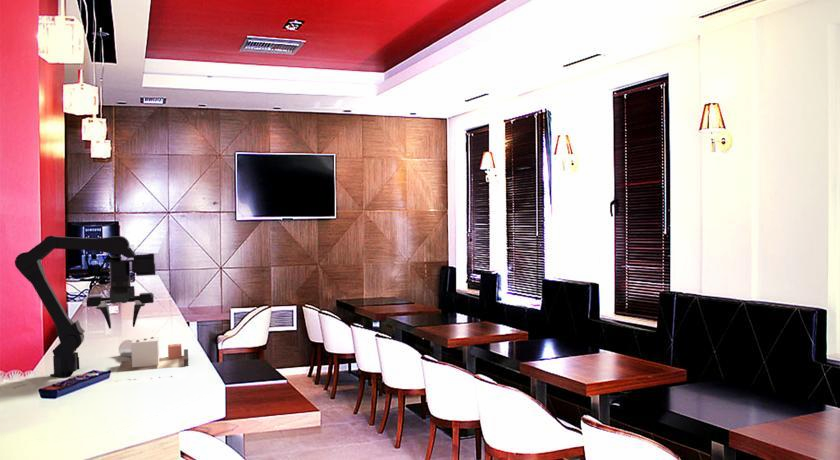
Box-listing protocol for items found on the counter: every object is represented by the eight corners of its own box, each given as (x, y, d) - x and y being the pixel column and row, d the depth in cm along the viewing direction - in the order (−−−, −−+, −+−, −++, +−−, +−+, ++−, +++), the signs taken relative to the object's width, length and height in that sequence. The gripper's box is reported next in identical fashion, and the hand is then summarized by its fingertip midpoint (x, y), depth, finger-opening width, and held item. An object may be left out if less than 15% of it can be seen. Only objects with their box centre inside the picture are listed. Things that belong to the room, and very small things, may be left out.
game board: (117, 376, 209) (116, 365, 209) (122, 364, 227) (121, 354, 226) (188, 369, 216) (188, 359, 216) (188, 358, 233) (187, 349, 233)
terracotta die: (168, 359, 227) (168, 346, 227) (168, 356, 231) (168, 343, 231) (181, 358, 228) (181, 344, 228) (181, 355, 232) (181, 342, 232)
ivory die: (132, 367, 216) (131, 341, 215) (133, 362, 223) (132, 337, 223) (158, 365, 218) (157, 339, 218) (159, 360, 225) (158, 335, 225)
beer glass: (141, 351, 241) (163, 351, 231) (124, 363, 236) (145, 364, 226) (130, 334, 239) (152, 333, 229) (113, 346, 234) (134, 347, 224)
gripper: (83, 280, 207) (85, 334, 208) (151, 277, 213) (153, 329, 214) (88, 277, 218) (89, 328, 218) (152, 274, 224) (154, 324, 224)
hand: (121, 327), depth 218 cm, fingers open, 6 cm apart
